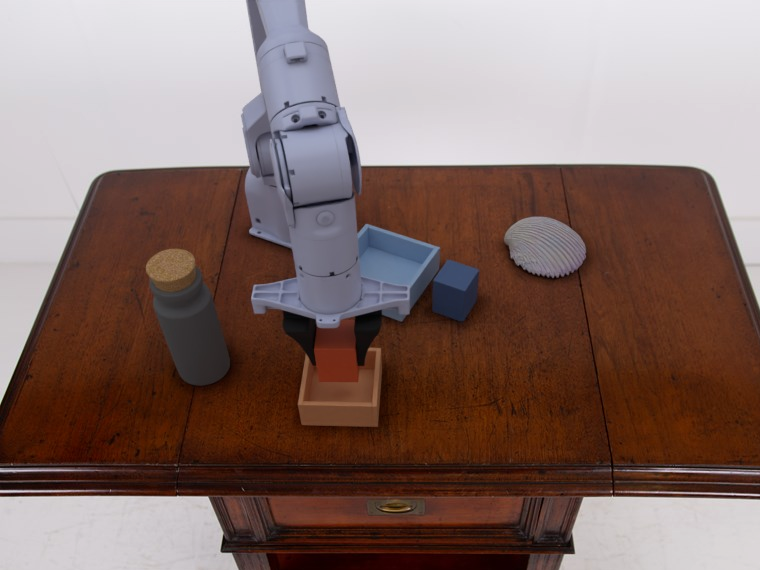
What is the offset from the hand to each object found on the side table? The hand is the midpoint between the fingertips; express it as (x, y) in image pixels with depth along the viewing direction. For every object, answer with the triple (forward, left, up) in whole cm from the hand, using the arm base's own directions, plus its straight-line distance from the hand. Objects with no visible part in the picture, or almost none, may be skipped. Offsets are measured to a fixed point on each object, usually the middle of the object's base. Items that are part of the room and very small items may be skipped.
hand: (338, 358), depth 77 cm
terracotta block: (0, 0, -1) cm, 1 cm away
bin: (-5, +18, -6) cm, 19 cm away
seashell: (+11, +32, -6) cm, 34 cm away
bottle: (-16, -3, -6) cm, 18 cm away
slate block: (+5, +18, -6) cm, 19 cm away
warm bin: (0, 0, -6) cm, 6 cm away
